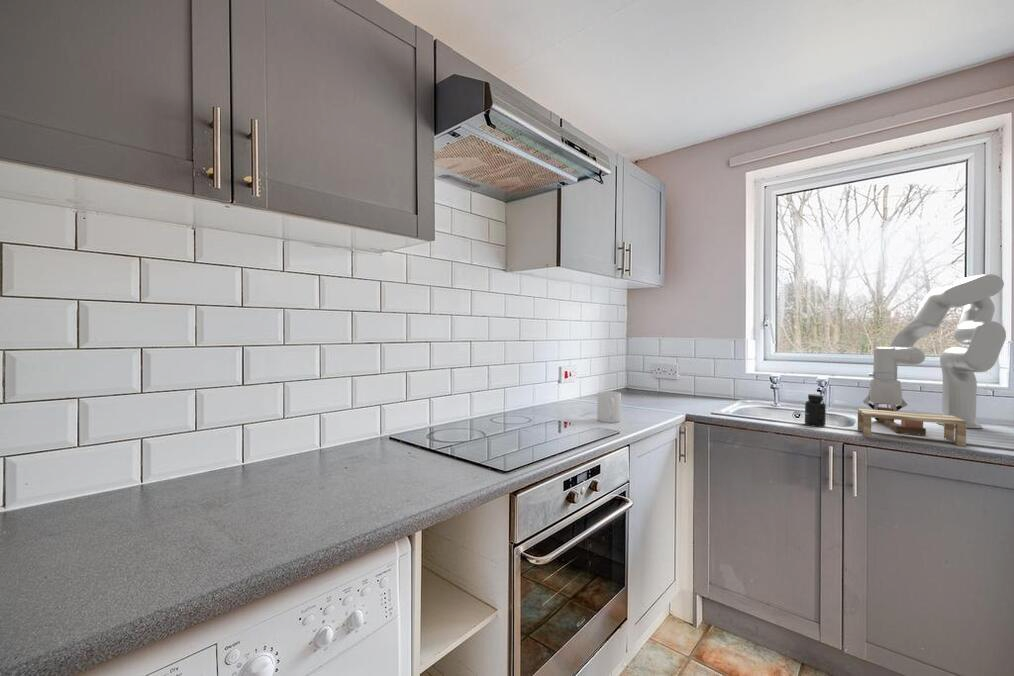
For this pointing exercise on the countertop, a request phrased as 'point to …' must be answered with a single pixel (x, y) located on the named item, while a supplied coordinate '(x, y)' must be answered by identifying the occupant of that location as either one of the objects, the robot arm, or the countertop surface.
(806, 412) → the supplement bottle
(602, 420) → the mug
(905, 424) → the cube
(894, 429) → the crook
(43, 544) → the countertop surface
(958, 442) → the low bench
